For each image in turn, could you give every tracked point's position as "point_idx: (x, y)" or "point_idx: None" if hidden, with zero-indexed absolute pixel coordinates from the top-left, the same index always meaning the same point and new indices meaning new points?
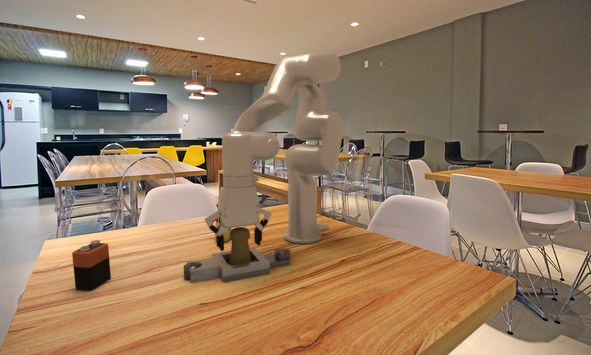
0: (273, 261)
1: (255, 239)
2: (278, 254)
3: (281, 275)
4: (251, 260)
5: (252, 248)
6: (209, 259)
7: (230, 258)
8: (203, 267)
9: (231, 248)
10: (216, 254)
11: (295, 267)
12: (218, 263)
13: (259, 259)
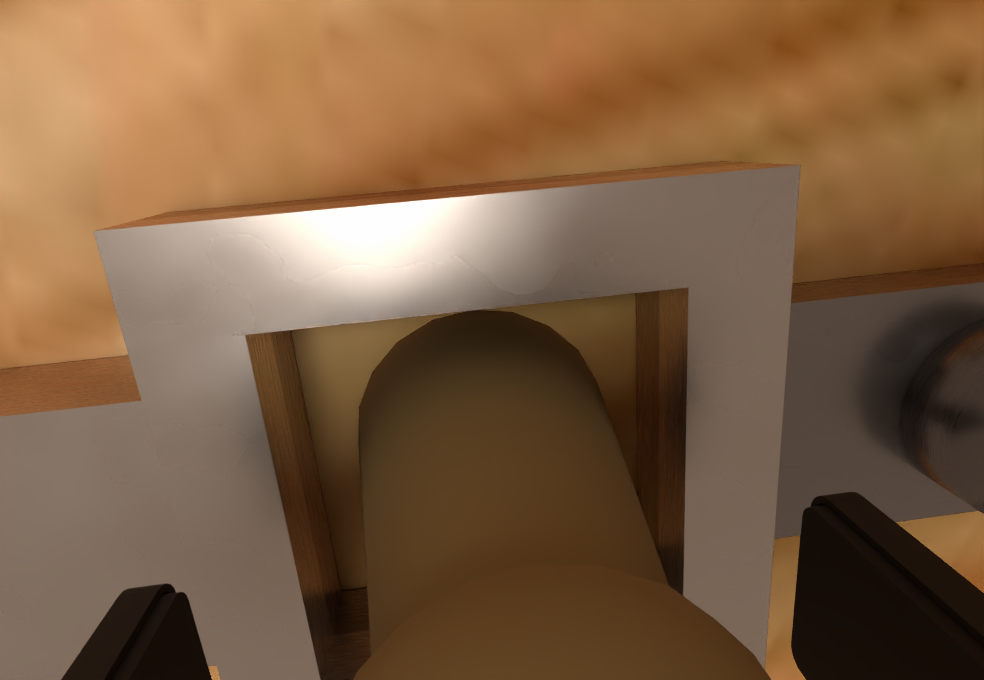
0: None
1: (843, 600)
2: (954, 493)
3: (781, 647)
4: (642, 305)
5: (748, 200)
6: (64, 448)
7: (363, 505)
8: (14, 663)
9: (368, 590)
10: (162, 281)
11: (963, 538)
12: (200, 600)
13: (695, 598)
